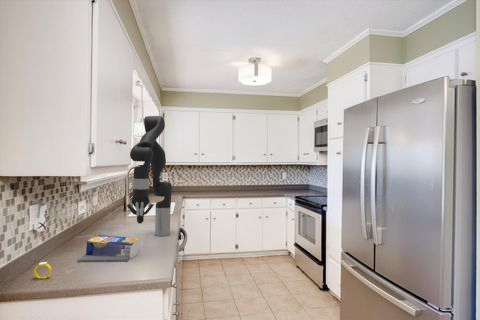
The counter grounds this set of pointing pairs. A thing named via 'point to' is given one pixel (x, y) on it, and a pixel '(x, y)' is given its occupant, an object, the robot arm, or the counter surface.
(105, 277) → the counter surface
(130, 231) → the counter surface
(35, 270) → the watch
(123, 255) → the beverage box
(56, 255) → the counter surface
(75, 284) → the counter surface
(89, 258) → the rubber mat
